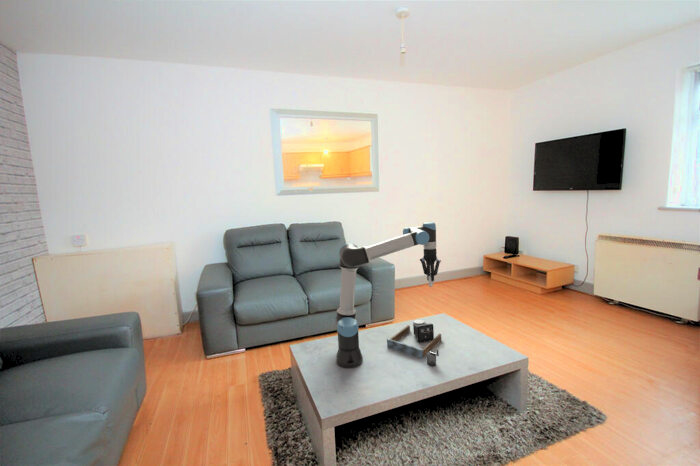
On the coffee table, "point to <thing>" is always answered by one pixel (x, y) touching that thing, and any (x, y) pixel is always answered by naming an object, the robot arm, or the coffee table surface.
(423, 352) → the bay
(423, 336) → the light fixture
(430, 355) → the winch drum
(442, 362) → the coffee table surface
